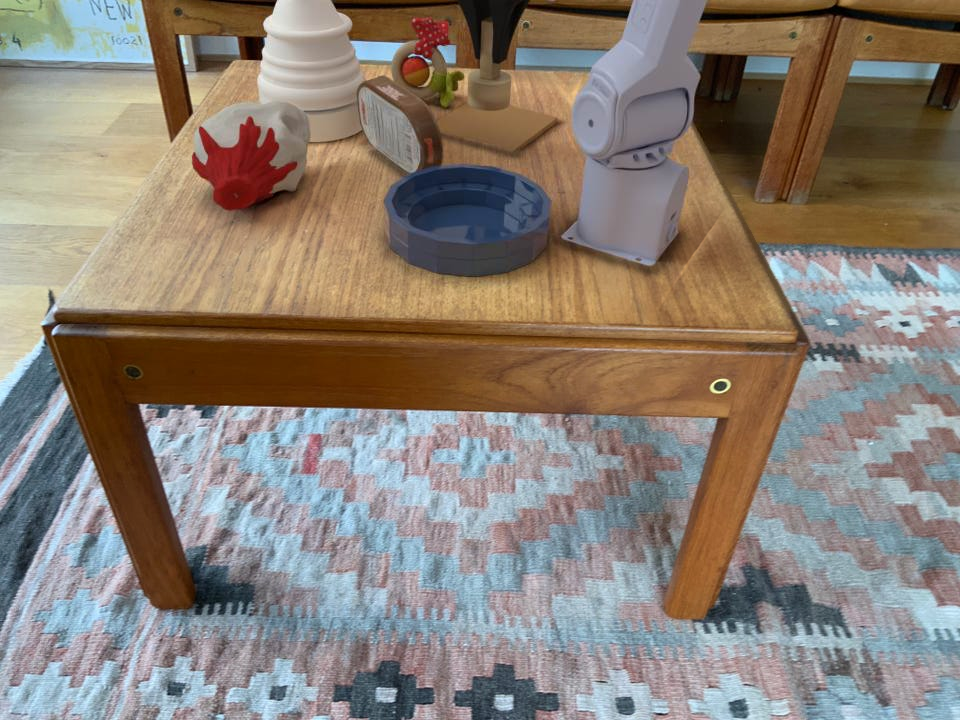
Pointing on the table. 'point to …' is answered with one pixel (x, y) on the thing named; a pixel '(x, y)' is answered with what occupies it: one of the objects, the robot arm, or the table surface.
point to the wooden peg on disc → (488, 77)
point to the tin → (399, 124)
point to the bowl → (467, 219)
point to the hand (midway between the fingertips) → (491, 59)
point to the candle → (251, 151)
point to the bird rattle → (417, 69)
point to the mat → (496, 125)
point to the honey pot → (312, 66)
